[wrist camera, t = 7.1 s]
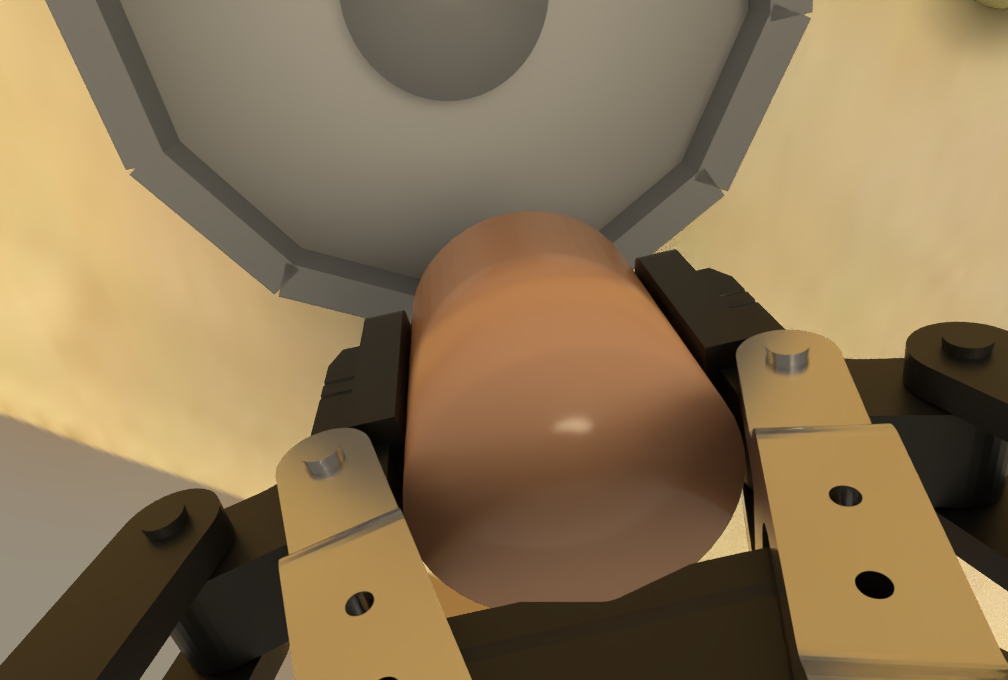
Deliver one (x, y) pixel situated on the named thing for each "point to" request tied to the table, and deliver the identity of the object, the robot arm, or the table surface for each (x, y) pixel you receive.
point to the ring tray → (425, 121)
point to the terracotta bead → (557, 421)
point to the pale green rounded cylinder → (994, 3)
